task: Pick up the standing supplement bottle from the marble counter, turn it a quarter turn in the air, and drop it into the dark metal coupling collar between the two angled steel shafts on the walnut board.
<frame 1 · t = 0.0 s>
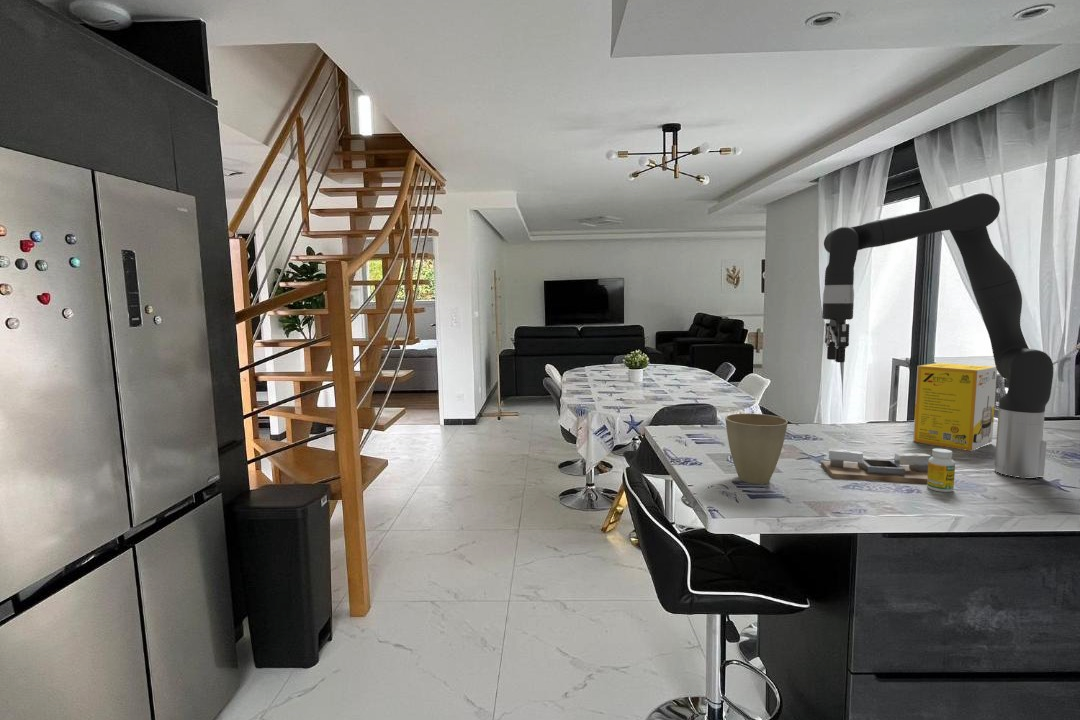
hand: (835, 360, 158), 29 cm above the countertop, tool pointing down, fingers open, 8 cm apart
plant pot: (754, 480, 147), on the countertop
walnut base board: (880, 474, 151), on the countertop
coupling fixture: (880, 462, 151), on the walnut base board, point 3 cm above the countertop
supplement bottle: (939, 489, 139), on the countertop
packaging box: (951, 443, 186), on the countertop
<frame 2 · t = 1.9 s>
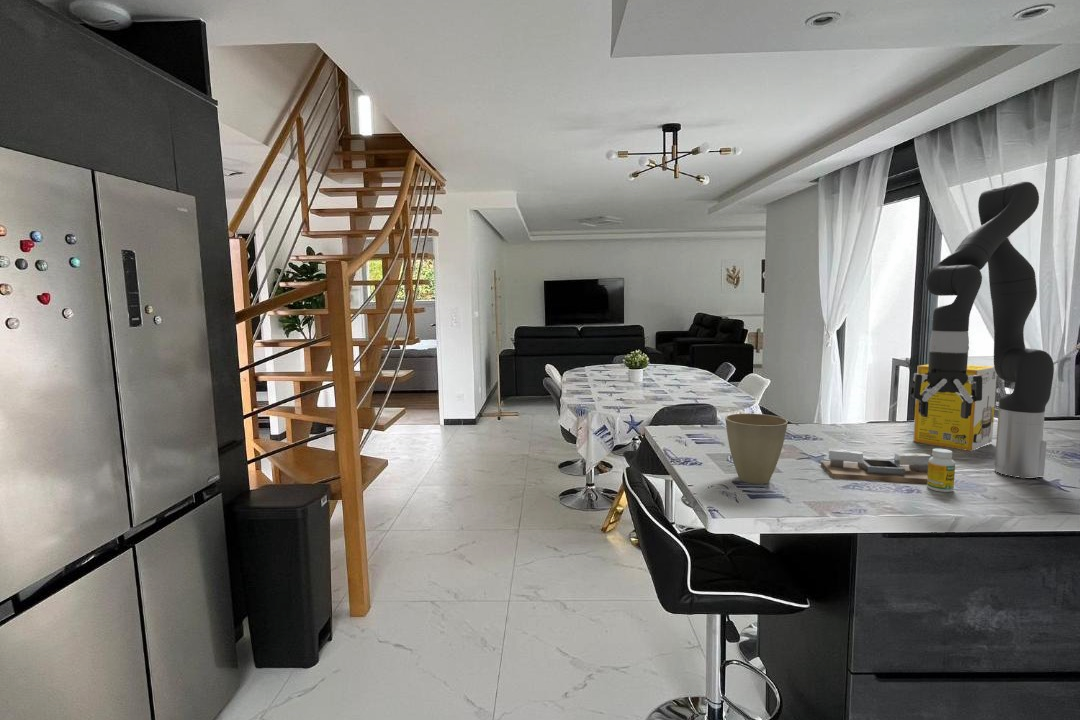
hand: (943, 417, 137), 18 cm above the countertop, tool pointing down, fingers open, 8 cm apart
nothing on the countertop moved.
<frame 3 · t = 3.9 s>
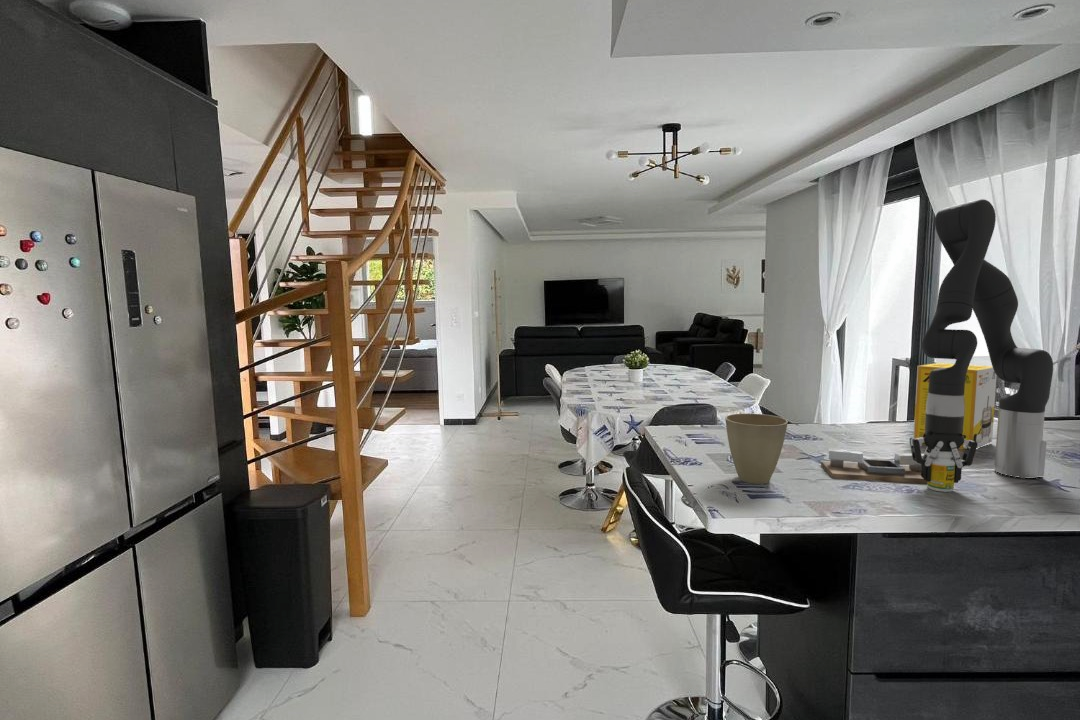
hand: (940, 480, 139), 2 cm above the countertop, tool pointing down, fingers closed on supplement bottle, 5 cm apart
supplement bottle: (939, 489, 139), on the countertop, touching gripper
everything else where it was.
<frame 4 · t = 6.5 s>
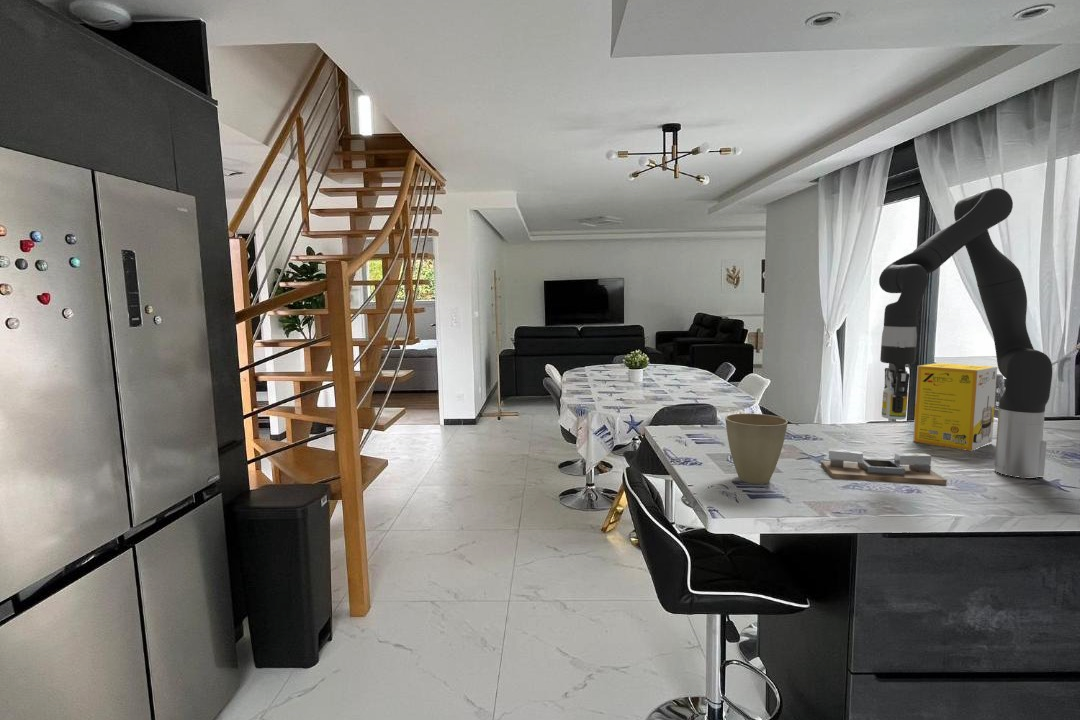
hand: (894, 410, 146), 18 cm above the countertop, tool pointing down, fingers closed on supplement bottle, 5 cm apart
supplement bottle: (893, 418, 146), point 16 cm above the countertop, touching gripper
everything else where it was.
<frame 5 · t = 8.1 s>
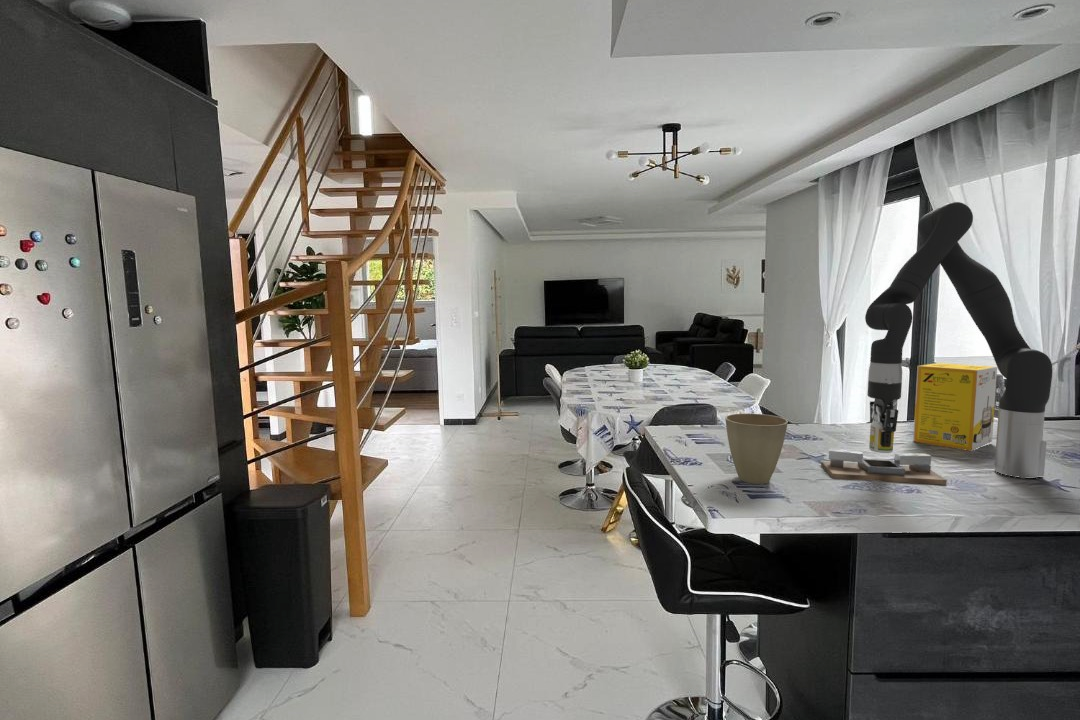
hand: (881, 443, 150), 8 cm above the countertop, tool pointing down, fingers closed on supplement bottle, 5 cm apart
supplement bottle: (880, 451, 150), point 6 cm above the countertop, touching gripper
everything else where it was.
when the fingers open (5 cm above the countertop, at t = 9.3 s): supplement bottle drops 1 cm, resting on walnut base board.
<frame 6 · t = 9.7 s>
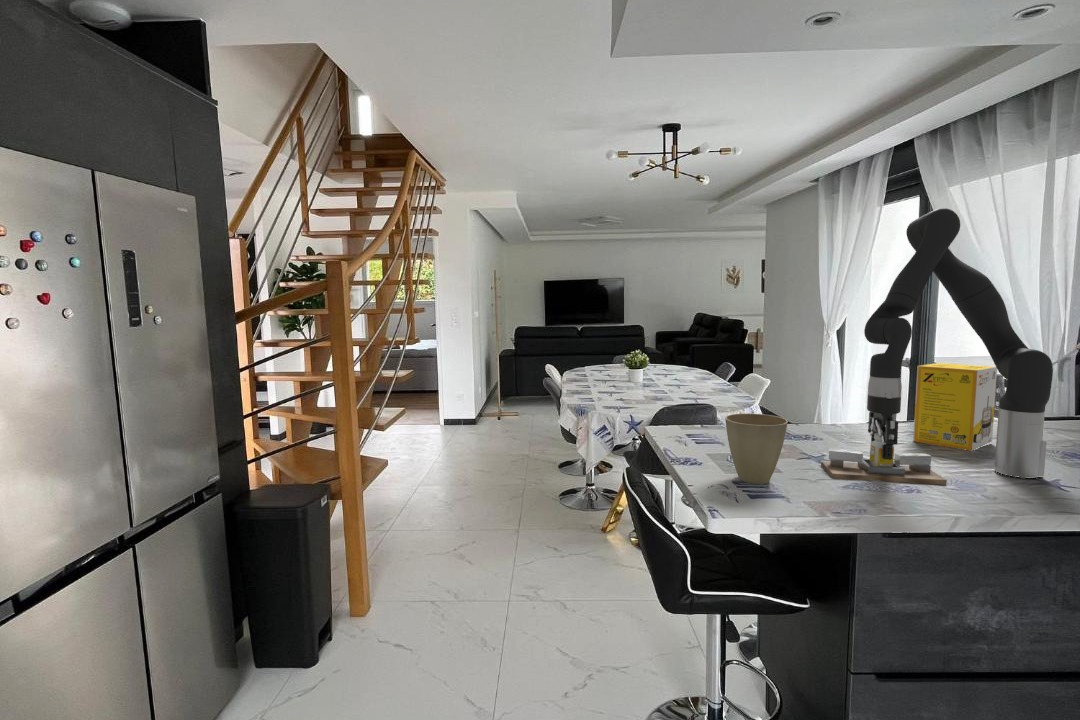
hand: (881, 454, 150), 5 cm above the countertop, tool pointing down, fingers open, 8 cm apart
supplement bottle: (880, 470, 151), point 1 cm above the countertop, touching walnut base board
everything else where it was.
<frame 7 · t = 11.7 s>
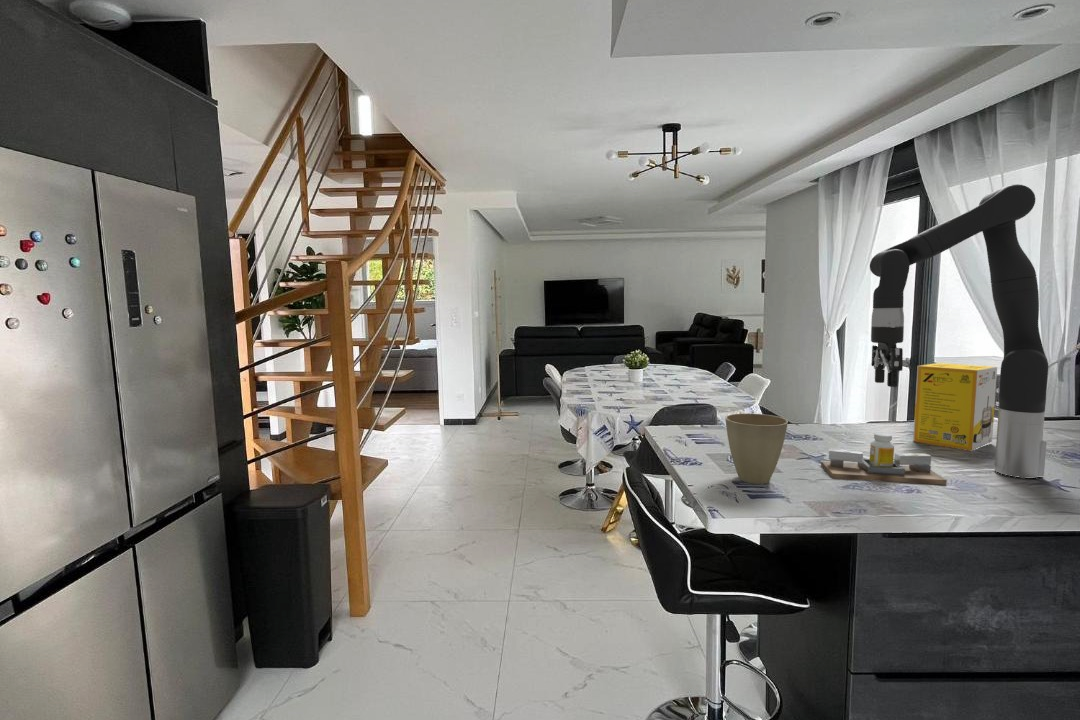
hand: (885, 384, 155), 23 cm above the countertop, tool pointing down, fingers open, 8 cm apart
nothing on the countertop moved.
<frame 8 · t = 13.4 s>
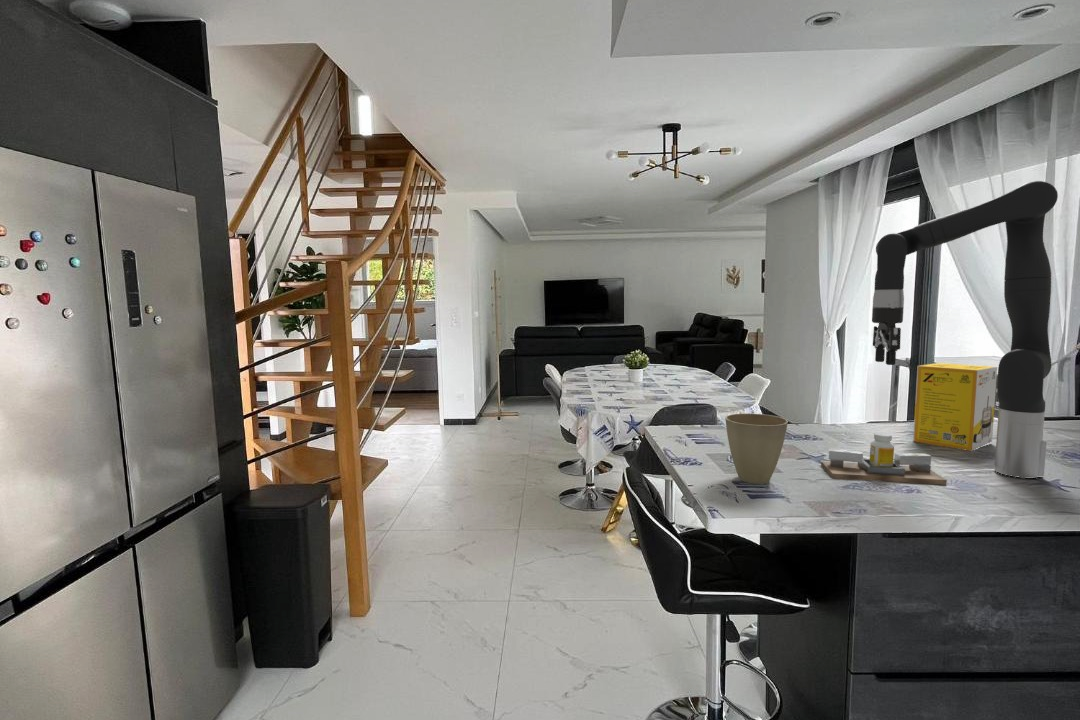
hand: (884, 363, 163), 28 cm above the countertop, tool pointing down, fingers open, 8 cm apart
nothing on the countertop moved.
at the end: supplement bottle 0.1 cm off-centre on the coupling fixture, point 1.0 cm above the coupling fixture's base; supplement bottle tilted 0°; the gripper is holding nothing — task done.
